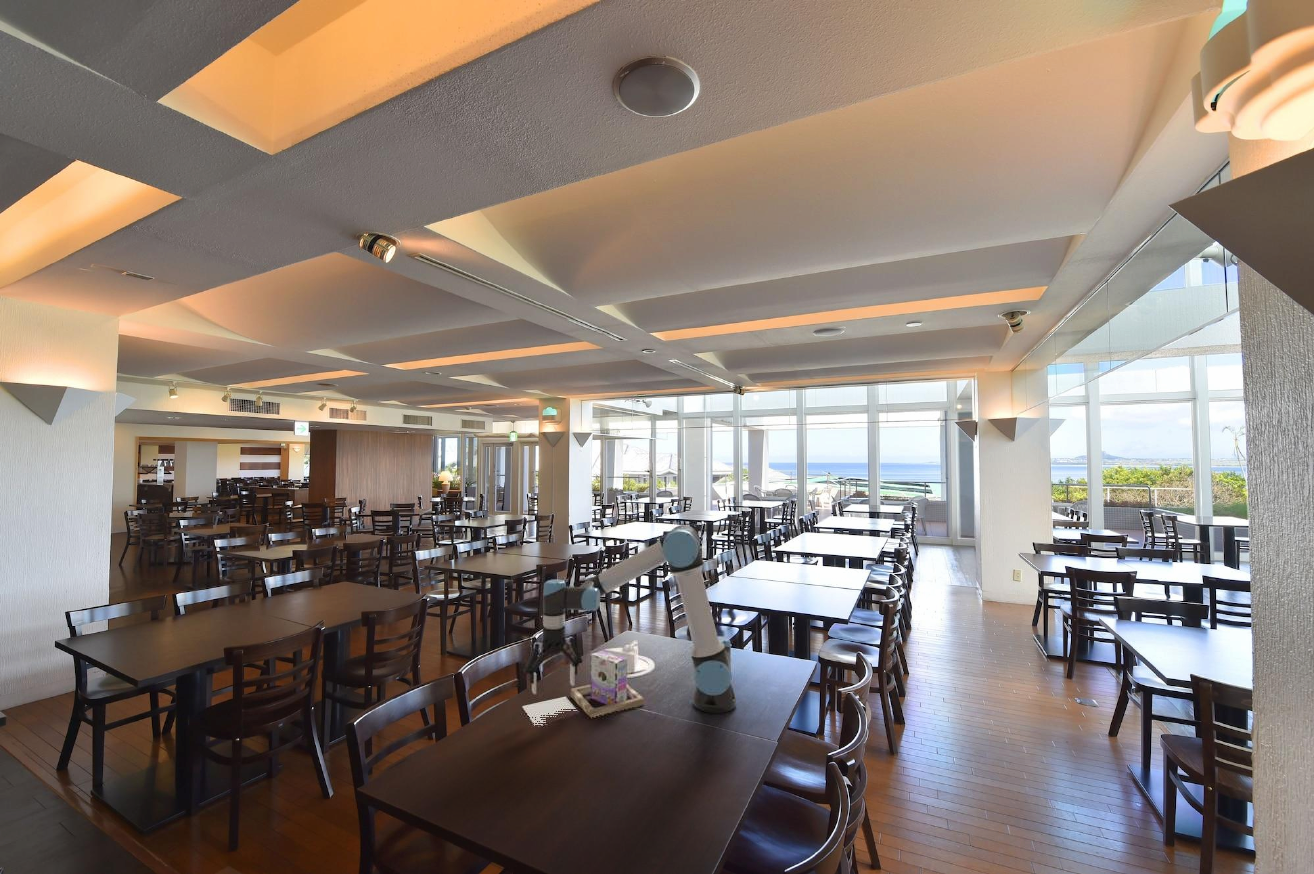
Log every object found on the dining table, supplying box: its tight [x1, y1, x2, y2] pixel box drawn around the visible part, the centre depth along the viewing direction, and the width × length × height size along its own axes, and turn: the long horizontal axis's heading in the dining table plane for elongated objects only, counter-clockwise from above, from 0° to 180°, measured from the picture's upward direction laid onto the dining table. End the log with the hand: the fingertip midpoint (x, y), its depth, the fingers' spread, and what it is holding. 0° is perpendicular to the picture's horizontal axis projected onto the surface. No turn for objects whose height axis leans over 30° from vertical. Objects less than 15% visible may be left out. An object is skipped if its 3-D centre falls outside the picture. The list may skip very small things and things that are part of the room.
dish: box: [603, 640, 656, 679], centre depth 225 cm, size 25×25×11 cm
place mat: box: [521, 696, 578, 726], centre depth 183 cm, size 20×16×1 cm
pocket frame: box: [570, 684, 645, 719], centre depth 193 cm, size 20×20×3 cm
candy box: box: [590, 650, 628, 706], centre depth 193 cm, size 14×6×16 cm, turn 48°
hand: (553, 688), depth 183 cm, fingers open, 13 cm apart
